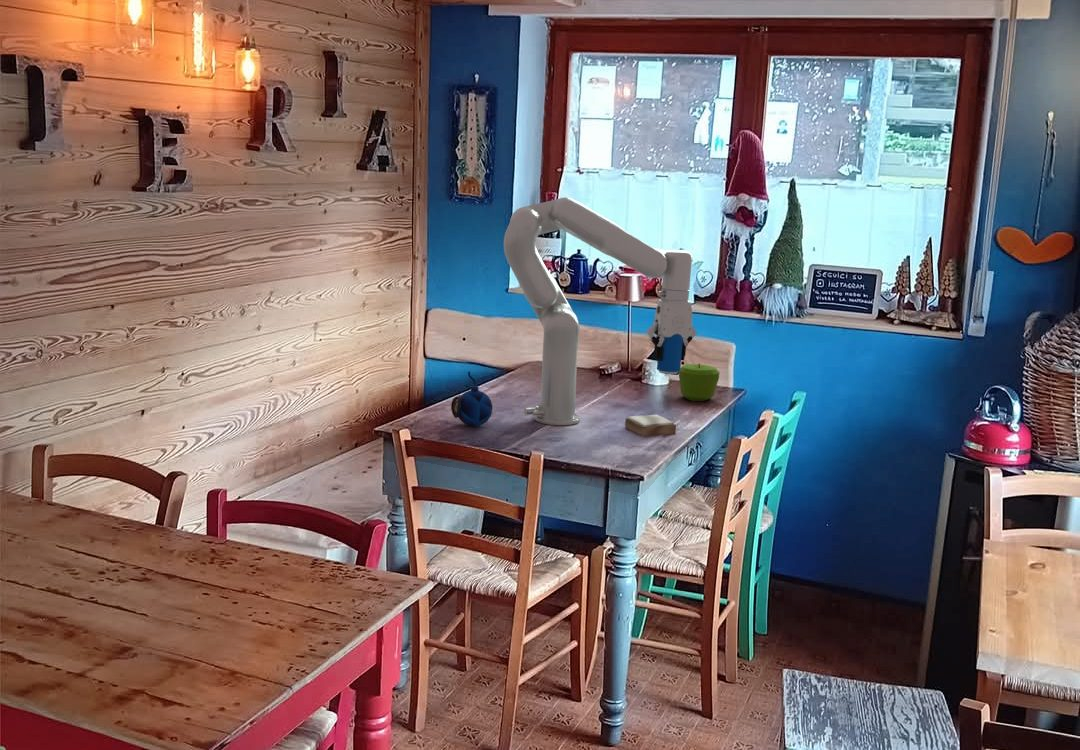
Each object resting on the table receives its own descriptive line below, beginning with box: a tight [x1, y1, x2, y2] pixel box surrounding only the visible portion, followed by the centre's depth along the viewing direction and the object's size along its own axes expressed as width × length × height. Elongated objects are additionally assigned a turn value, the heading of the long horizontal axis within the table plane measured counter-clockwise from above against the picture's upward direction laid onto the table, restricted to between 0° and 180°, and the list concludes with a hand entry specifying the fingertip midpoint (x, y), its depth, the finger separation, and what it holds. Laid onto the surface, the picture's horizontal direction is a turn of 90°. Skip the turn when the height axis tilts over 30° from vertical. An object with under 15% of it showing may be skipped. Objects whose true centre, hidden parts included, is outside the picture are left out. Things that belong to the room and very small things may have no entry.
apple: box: [678, 363, 720, 402], centre depth 337 cm, size 12×12×11 cm
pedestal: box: [624, 414, 677, 437], centre depth 297 cm, size 10×10×3 cm
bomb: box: [450, 371, 494, 427], centre depth 293 cm, size 10×11×15 cm
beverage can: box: [656, 334, 683, 375], centre depth 302 cm, size 6×6×12 cm
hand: (669, 359), depth 303 cm, fingers closed on beverage can, 6 cm apart
